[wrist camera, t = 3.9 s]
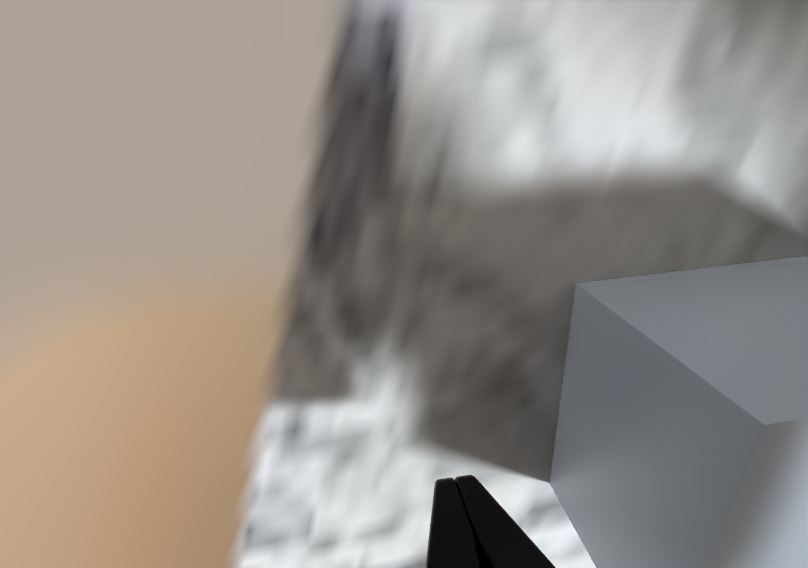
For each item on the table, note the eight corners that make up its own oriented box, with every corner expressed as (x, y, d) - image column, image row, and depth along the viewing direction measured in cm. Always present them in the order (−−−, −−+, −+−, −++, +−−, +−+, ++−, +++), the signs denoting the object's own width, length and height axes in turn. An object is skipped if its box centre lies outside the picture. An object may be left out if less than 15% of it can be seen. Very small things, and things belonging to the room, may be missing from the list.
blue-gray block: (850, 247, 11) (1216, 348, 6) (768, 440, 14) (978, 604, 9) (572, 280, 10) (764, 424, 5) (546, 478, 13) (658, 680, 8)
